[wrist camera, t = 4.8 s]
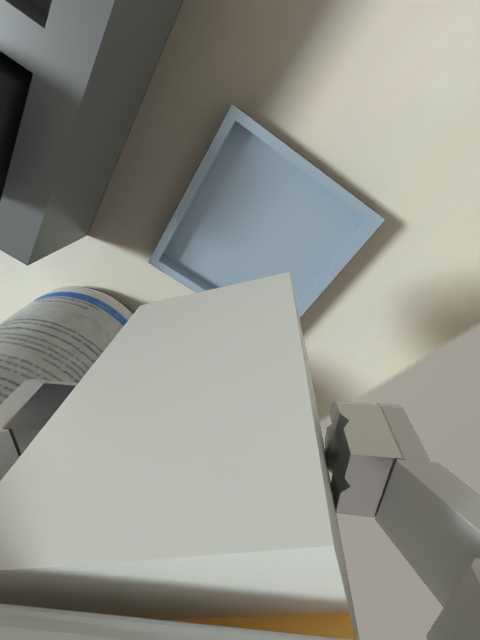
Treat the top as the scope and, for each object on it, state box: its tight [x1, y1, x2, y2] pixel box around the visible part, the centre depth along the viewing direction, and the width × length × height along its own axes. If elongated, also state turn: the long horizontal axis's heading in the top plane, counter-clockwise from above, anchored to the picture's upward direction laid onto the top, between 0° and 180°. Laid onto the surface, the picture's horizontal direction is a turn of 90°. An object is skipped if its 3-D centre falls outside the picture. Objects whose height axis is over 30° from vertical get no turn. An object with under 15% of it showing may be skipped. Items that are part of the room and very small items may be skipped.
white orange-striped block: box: [0, 272, 359, 640], centre depth 8 cm, size 5×4×8 cm
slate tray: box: [148, 104, 385, 318], centre depth 21 cm, size 10×10×2 cm
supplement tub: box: [0, 287, 133, 405], centre depth 20 cm, size 10×10×15 cm
